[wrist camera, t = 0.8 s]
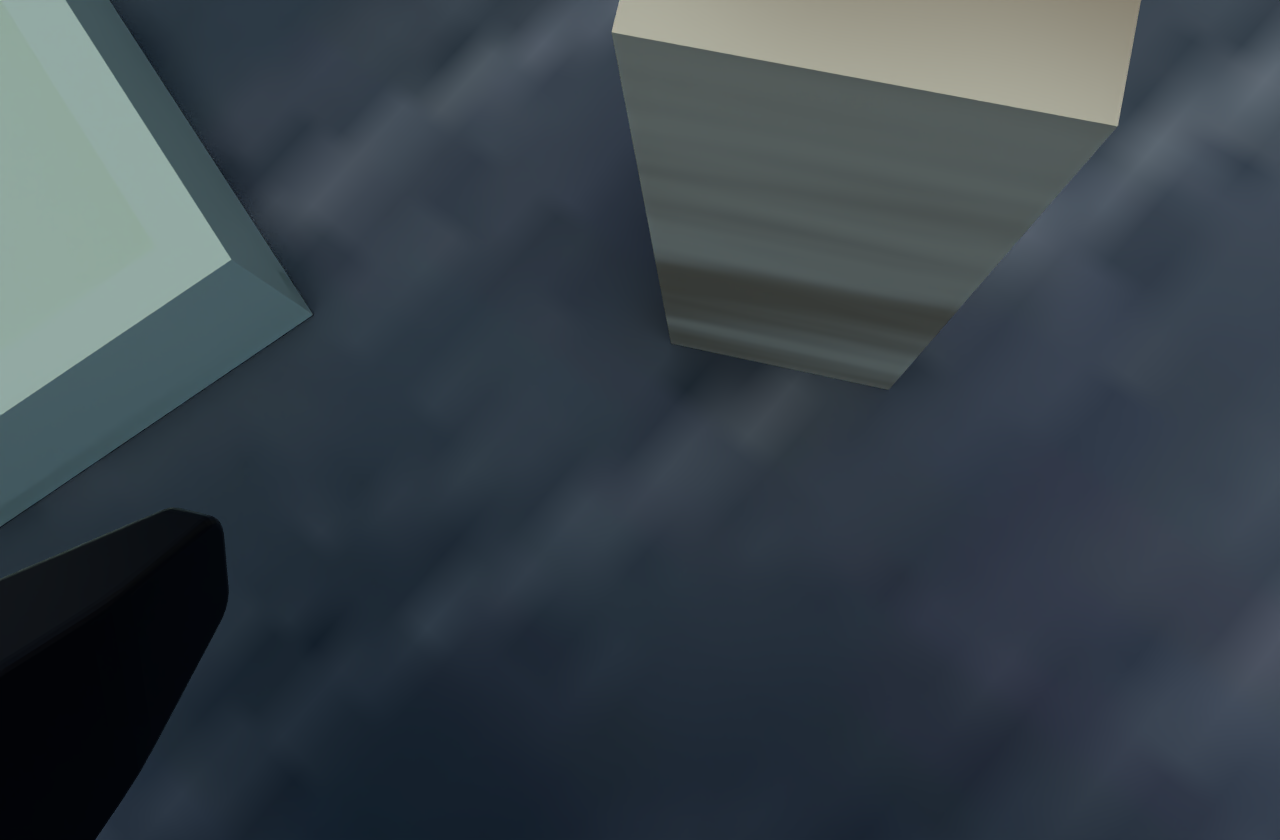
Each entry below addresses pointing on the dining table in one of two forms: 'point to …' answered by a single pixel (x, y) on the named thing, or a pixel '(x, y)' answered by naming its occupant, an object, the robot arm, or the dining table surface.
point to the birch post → (854, 160)
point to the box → (110, 250)
